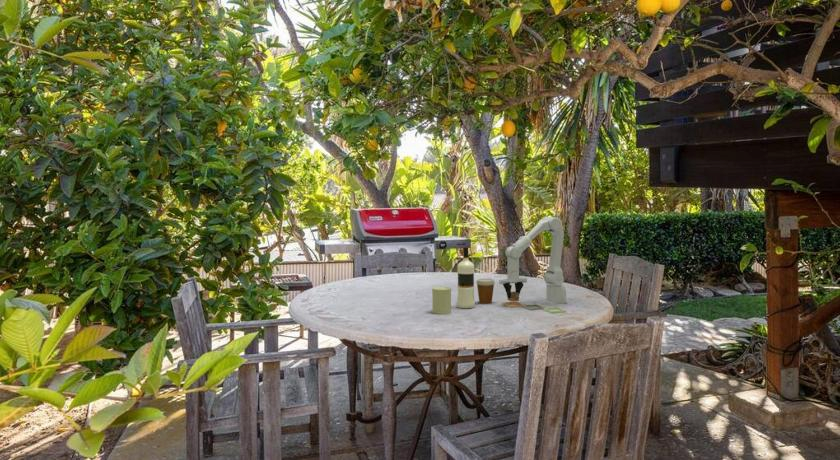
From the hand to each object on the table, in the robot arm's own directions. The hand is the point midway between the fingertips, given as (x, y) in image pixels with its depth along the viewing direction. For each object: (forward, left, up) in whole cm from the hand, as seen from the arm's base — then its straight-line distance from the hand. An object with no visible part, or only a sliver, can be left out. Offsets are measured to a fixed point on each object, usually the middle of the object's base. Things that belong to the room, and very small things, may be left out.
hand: (513, 297), depth 290 cm
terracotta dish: (0, 0, -4) cm, 4 cm away
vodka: (+23, -6, -4) cm, 24 cm away
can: (+38, 0, -4) cm, 38 cm away
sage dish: (-12, +19, -4) cm, 23 cm away
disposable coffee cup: (+10, -11, -4) cm, 16 cm away
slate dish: (-6, +10, -4) cm, 12 cm away
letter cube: (0, 0, -1) cm, 1 cm away
